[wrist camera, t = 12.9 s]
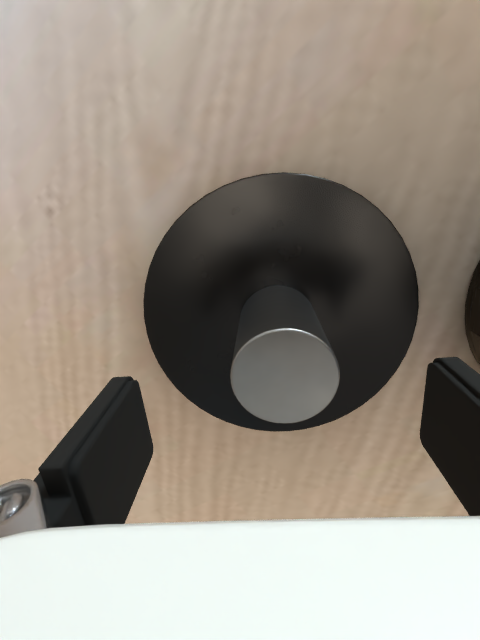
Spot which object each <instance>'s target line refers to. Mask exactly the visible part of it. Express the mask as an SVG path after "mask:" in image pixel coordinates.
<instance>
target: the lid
mask: <svg viewBox="0 0 480 640" xmlns="http://www.w3.org/2000/svg"><path fill="white" fill-rule="evenodd" d="M418 307H419V302H418V284H417V277H416V271H415V268H414V265H413V262H412V259H411V256H410V253H409V251H408V249H407V247H406V245H405V243H404V241H403V239H402V237H401V235H400V234H399V233H398V231H397V230H396V228H395V227H394V225H393V224H392V223H391V221H390V220H389V219H388V218H387V217H386V216H385V215H384V214H383V213H382V212H381V211H380V210H379V209H378V208H377V207H376V206H375V205H373V204H372V203H371V202H370V201H368V200H367V199H366V198H364V197H363V196H362V195H360V194H358V193H356V192H355V191H353V190H351V189H349V188H347V187H346V186H344V185H341V184H338V183H336V182H333V181H330V180H328V179H325V178H321V177H316V176H311V175H307V174H297V173H271V174H261V175H256V176H252V177H247V178H243V179H240V180H237V181H235V182H232V183H229V184H227V185H224V186H222V187H220V188H218V189H216V190H214V191H213V192H211V193H209V194H207V195H205V196H204V197H203V198H201V199H200V200H199V201H197V202H196V203H195V204H193V205H192V206H190V207H189V208H188V209H187V210H186V211H185V212H184V213H183V214H182V215H181V216H180V217H179V218H178V219H177V220H176V221H175V223H174V224H173V225H172V226H171V228H170V229H169V230H168V232H167V233H166V234H165V236H164V237H163V239H162V241H161V243H160V245H159V246H158V248H157V250H156V252H155V254H154V257H153V259H152V262H151V264H150V267H149V271H148V275H147V279H146V283H145V292H144V319H145V325H146V330H147V335H148V338H149V341H150V344H151V348H152V350H153V352H154V355H155V357H156V359H157V361H158V363H159V365H160V366H161V368H162V369H163V371H164V373H165V374H166V376H167V377H168V378H169V380H170V381H171V382H172V383H173V384H174V386H175V387H176V388H177V389H178V390H179V391H180V392H181V393H182V394H183V395H184V396H185V397H186V398H187V399H189V400H190V401H191V402H193V403H194V404H195V405H197V406H198V407H199V408H201V409H202V410H204V411H206V412H207V413H209V414H211V415H213V416H215V417H217V418H219V419H221V420H224V421H226V422H228V423H232V424H235V425H238V426H241V427H245V428H250V429H255V430H264V431H293V430H301V429H307V428H311V427H315V426H319V425H322V424H325V423H328V422H331V421H334V420H336V419H338V418H340V417H342V416H344V415H347V414H349V413H350V412H352V411H353V410H355V409H357V408H358V407H360V406H361V405H363V404H364V403H365V402H367V401H368V400H369V399H370V398H372V397H373V396H374V395H375V394H376V393H377V392H378V391H379V390H380V389H381V388H382V387H383V386H384V385H385V384H386V383H387V382H388V381H389V379H390V378H391V377H392V376H393V374H394V373H395V372H396V370H397V369H398V367H399V365H400V364H401V362H402V360H403V359H404V357H405V355H406V353H407V350H408V348H409V346H410V343H411V341H412V338H413V334H414V330H415V327H416V322H417V315H418Z"/></svg>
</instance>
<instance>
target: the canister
mask: <svg viewBox="0 0 480 640" xmlns="http://www.w3.org/2000/svg"><path fill="white" fill-rule="evenodd" d="M465 325H466V334H467V338H468V341H469V345H470V348H471V350H472V352H473V354H474V356H475V359H476V360H477V362H478V363H479V365H480V261H479V263H478V265H477V267H476V269H475V271H474V274H473V277H472V280H471V283H470V286H469V289H468V294H467V300H466V305H465Z"/></svg>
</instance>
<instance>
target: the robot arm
mask: <svg viewBox="0 0 480 640" xmlns="http://www.w3.org/2000/svg"><path fill="white" fill-rule="evenodd" d="M420 439H421V442H422V445H423V447H424V448H425V450H426V451H427V453H428V454H429V456H430V457H431V458H432V460H433V461H434V463H435V464H436V466H437V467H438V469H439V470H440V472H441V473H442V475H443V476H444V478H445V479H446V481H447V482H448V484H449V485H450V487H451V488H452V490H453V491H454V493H455V494H456V496H457V497H458V499H459V500H460V502H461V503H462V505H463V506H464V508H465V509H466V511H467V512H468V514H469V515H470V516H442V517H380V518H329V519H283V520H240V521H205V522H170V523H136V524H124V523H125V521H126V519H127V516H128V514H129V511H130V509H131V506H132V504H133V502H134V499H135V497H136V494H137V492H138V489H139V487H140V485H141V482H142V480H143V477H144V475H145V472H146V470H147V467H148V465H149V463H150V460H151V458H152V455H153V443H152V438H151V434H150V430H149V425H148V421H147V417H146V412H145V408H144V404H143V399H142V395H141V391H140V387H139V383H138V381H137V380H133V378H132V377H131V376H128V377H113V378H112V379H111V380H110V381H109V383H108V384H107V385H106V386H105V388H104V389H103V390H102V391H101V392H100V394H99V395H98V396H97V397H96V399H95V400H94V401H93V402H92V404H91V405H90V406H89V407H88V408H87V410H86V411H85V412H84V413H83V415H82V416H81V417H80V418H79V419H78V421H77V422H76V423H75V424H74V426H73V427H72V428H71V429H70V431H69V432H68V433H67V434H66V435H65V437H64V438H63V439H62V440H61V442H60V443H59V444H58V445H57V447H56V448H55V449H54V450H53V451H52V453H51V454H50V455H49V456H48V458H47V459H46V460H45V461H44V463H43V464H42V465H41V466H40V467H39V472H40V473H39V474H38V476H37V477H36V478H35V479H34V481H32V480H30V479H19V480H14V481H11V482H8V483H6V484H3V485H1V486H0V640H480V374H478V373H477V372H476V371H475V370H473V369H472V368H471V367H469V366H468V365H467V364H466V363H464V362H463V361H462V360H461V359H459V358H457V357H446V358H436V359H434V361H433V363H430V364H429V365H428V368H427V376H426V385H425V393H424V402H423V411H422V419H421V428H420Z"/></svg>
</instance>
